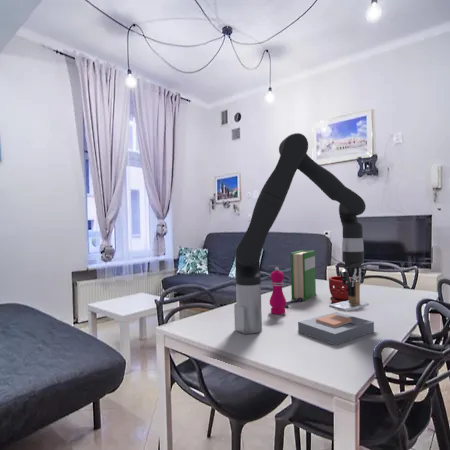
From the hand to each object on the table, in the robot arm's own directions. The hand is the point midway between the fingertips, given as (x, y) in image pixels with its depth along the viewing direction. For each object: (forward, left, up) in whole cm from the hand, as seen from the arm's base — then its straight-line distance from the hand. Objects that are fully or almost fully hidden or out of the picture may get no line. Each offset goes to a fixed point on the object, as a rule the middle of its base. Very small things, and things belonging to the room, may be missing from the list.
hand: (353, 295), depth 119 cm
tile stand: (-11, 0, -11) cm, 16 cm away
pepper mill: (-11, +31, -11) cm, 34 cm away
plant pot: (+26, +25, -11) cm, 38 cm away
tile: (-12, 0, -7) cm, 14 cm away
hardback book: (+21, +46, -11) cm, 52 cm away
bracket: (+5, +40, -12) cm, 42 cm away
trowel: (-3, 0, -3) cm, 5 cm away
